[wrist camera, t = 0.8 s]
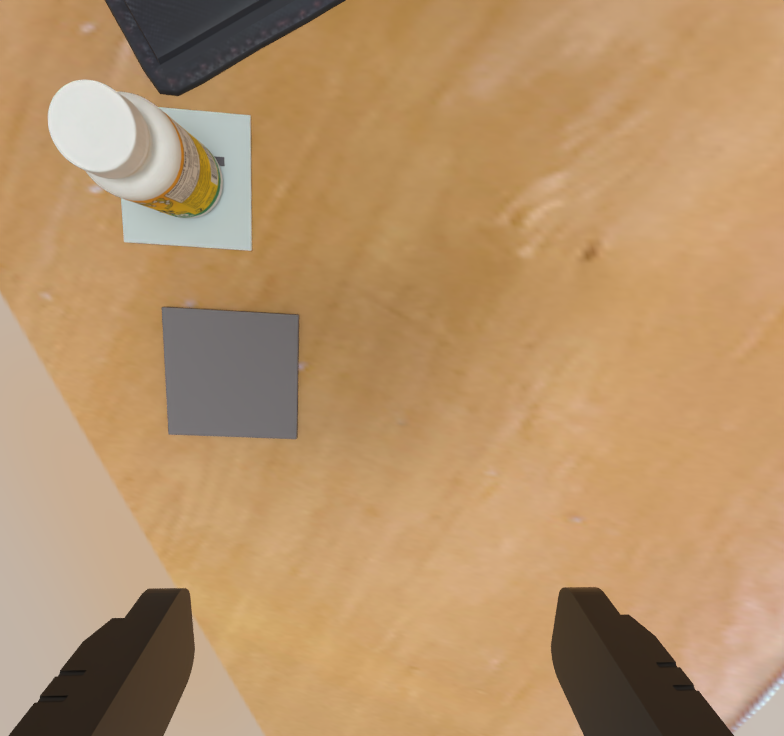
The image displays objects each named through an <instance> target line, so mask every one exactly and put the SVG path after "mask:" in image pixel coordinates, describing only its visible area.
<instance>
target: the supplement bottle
mask: <svg viewBox="0 0 784 736" xmlns="http://www.w3.org/2000/svg"><path fill="white" fill-rule="evenodd" d="M48 127H49V131H50V134H51V137H52V140H53V142H54V144H55V145H56V147H57V149H58V150H59V151H60V152H61V154H62V155H63V156H64V157H65V158H66V159H67V160H68V161H70V162H71V163H72V164H74V165H75V166H77V167H79V168H81V169H83V170H85V171H86V172H87V174H88V175H89V176H90V177H91V179H92V180H93V181H94V182H95V183H96V184H98V185H99V186H100V187H101V188H103V189H104V190H106V191H107V192H109V193H111V194H113V195H115V196H117V197H120V198H123V199H125V200H128V201H131V202H134V203H137V204H140V205H143V206H145V207H148V208H152V209H154V210H157V211H160V212H163V213H165V214H168V215H171V216H174V217H178V218H196V217H200V216H203V215H205V214H207V213H208V212H210V211H211V210H212V209H213V208H214V207H215V205H216V204H217V202H218V201H219V198H220V196H221V193H222V187H223V179H222V173H221V169H220V166H219V164H218V162H217V160H216V159H215V157H214V156H213V154H212V153H211V152H210V151H209V150H208V149H207V148H206V147H205V146H204V145H203V144H202V143H201V142H199V141H198V140H197V139H196V138H195V137H193V136H192V135H191V134H190V133H188V132H187V131H186V130H185V129H184V128H182V127H181V126H180V125H179V124H178V123H176V122H175V121H174V120H173V119H172V118H171V117H169V116H168V115H167V114H166V113H165V112H163V111H162V110H161V109H160V108H158V107H157V106H156V105H155V104H153V103H152V102H150V101H149V100H147V99H145V98H143V97H141V96H138V95H136V94H132V93H128V92H117V91H115V90H114V89H112V88H111V87H109V86H107V85H105V84H103V83H100V82H97V81H93V80H77V81H73V82H70V83H68V84H66V85H65V86H63V87H62V88H61V89H59V90H58V92H57V93H56V94H55V96H54V97H53V99H52V101H51V104H50V106H49V111H48Z"/></svg>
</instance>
